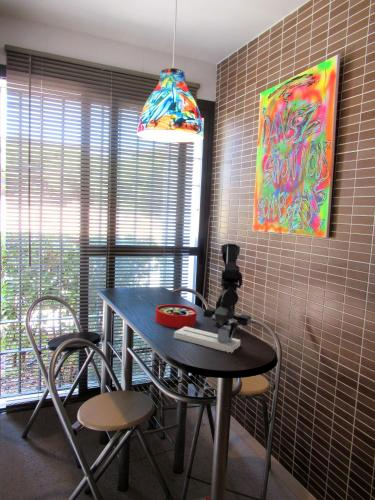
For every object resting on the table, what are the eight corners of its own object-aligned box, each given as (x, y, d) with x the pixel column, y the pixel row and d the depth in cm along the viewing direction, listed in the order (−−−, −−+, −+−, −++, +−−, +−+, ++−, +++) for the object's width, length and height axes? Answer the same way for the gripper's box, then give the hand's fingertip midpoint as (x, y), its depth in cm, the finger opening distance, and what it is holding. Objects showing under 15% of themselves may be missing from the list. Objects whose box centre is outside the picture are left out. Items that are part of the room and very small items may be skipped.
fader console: (184, 331, 161) (185, 326, 161) (240, 345, 150) (240, 339, 149) (173, 337, 153) (174, 331, 152) (231, 353, 141) (232, 346, 140)
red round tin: (147, 307, 176) (177, 302, 190) (146, 319, 177) (176, 313, 191) (175, 318, 162) (205, 312, 176) (173, 330, 162) (204, 324, 176)
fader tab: (223, 336, 151) (224, 325, 150) (232, 339, 149) (233, 327, 148) (217, 340, 145) (218, 328, 145) (226, 343, 144) (227, 330, 143)
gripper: (199, 298, 143) (195, 336, 144) (244, 307, 134) (240, 348, 136) (210, 294, 152) (207, 329, 154) (253, 302, 144) (249, 340, 145)
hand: (225, 336), depth 147 cm, fingers closed on fader tab, 4 cm apart
